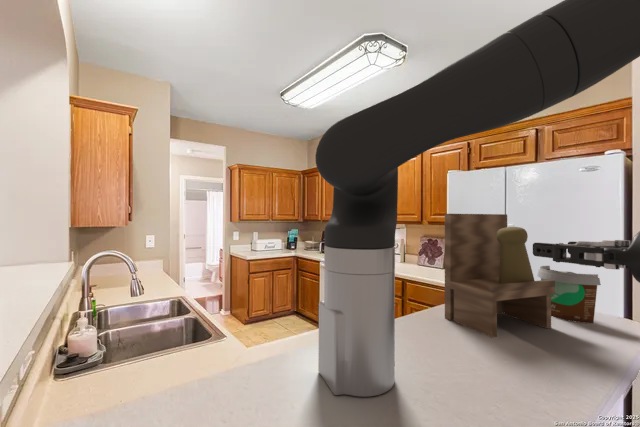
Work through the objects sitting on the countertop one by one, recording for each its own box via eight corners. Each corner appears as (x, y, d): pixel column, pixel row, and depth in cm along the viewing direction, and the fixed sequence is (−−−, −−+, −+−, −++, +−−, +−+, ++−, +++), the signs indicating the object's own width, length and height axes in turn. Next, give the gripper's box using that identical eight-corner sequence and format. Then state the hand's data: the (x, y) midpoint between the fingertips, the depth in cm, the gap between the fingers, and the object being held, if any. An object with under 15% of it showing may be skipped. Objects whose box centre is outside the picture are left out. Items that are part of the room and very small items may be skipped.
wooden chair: (492, 338, 53) (492, 212, 53) (444, 317, 63) (444, 213, 64) (555, 328, 58) (554, 214, 58) (501, 310, 69) (500, 214, 69)
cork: (537, 286, 56) (531, 228, 56) (499, 286, 59) (493, 230, 59) (532, 277, 61) (527, 224, 61) (498, 277, 64) (493, 226, 64)
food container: (523, 307, 71) (523, 265, 71) (547, 307, 72) (547, 265, 72) (573, 326, 59) (572, 275, 59) (601, 325, 60) (600, 274, 60)
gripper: (725, 229, 38) (579, 226, 53) (662, 230, 33) (521, 226, 49) (726, 288, 38) (579, 268, 53) (662, 298, 33) (521, 272, 49)
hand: (551, 248), depth 51 cm, fingers open, 8 cm apart
